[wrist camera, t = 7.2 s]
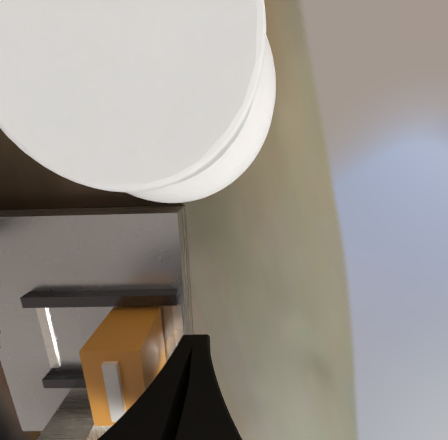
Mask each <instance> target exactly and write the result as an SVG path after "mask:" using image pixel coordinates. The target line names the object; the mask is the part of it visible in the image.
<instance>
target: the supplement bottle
mask: <svg viewBox="0 0 448 440" xmlns="http://www.w3.org/2000/svg"><path fill="white" fill-rule="evenodd" d="M275 94H276V78H275V68H274V62H273V56H272V52H271V48H270V45H269V41H268V38H267V36H266V16H265V5H264V0H0V128H1V130H2V131H3V132H4V133H5V134H6V136H7V137H8V138H10V139H11V140H12V141H13V142H14V143H15V144H16V145H17V146H18V147H19V148H20V149H21V150H22V151H24V152H25V153H26V154H27V155H29V156H30V157H31V158H33V159H34V160H35V161H37V162H38V163H40V164H41V165H43V166H44V167H46V168H47V169H49V170H51V171H53V172H55V173H56V174H58V175H60V176H62V177H64V178H67V179H69V180H71V181H74V182H76V183H79V184H82V185H85V186H89V187H92V188H96V189H101V190H107V191H114V192H126V193H128V194H131V195H133V196H136V197H138V198H142V199H145V200H150V201H155V202H162V203H183V202H189V201H194V200H198V199H201V198H205V197H207V196H210V195H212V194H214V193H216V192H218V191H220V190H222V189H223V188H225V187H226V186H228V185H229V184H231V183H232V182H233V181H234V180H236V179H237V178H238V177H239V176H240V175H241V174H242V173H243V172H244V171H245V170H246V169H247V168H248V167H249V166H250V164H251V163H252V162H253V160H254V159H255V157H256V156H257V154H258V152H259V151H260V149H261V147H262V145H263V143H264V141H265V138H266V136H267V133H268V130H269V127H270V124H271V119H272V115H273V110H274V104H275Z"/></svg>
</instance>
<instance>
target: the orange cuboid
mask: <svg viewBox="0 0 448 440" xmlns="http://www.w3.org/2000/svg"><path fill="white" fill-rule="evenodd" d="M79 354H80V359H81V364H82V369H83V373H84V378H85V383H86V388H87V392H88V397H89V402H90V407H91V411H92V416H93V421H94V426H113V425H114V424H115V423H116V422H117V421H118V420H119V419H120V418H121V417H122V416H123V415H124V413H125V412H126V411H127V410H128V409H129V408H130V407H131V406H132V405H133V404H134V403H135V402H136V401H137V399H138V398H139V397H140V396H141V395H142V394H143V392H144V391H145V390H146V389H147V388H148V386H149V385H150V384H151V383H152V381H153V380H154V379H155V377H156V376H157V375H158V373H159V372H160V371H161V369H162V368H163V366H164V365H165V363H166V357H165V347H164V338H163V328H162V318H161V309H160V306H155V307H113V309H112V310H111V311H110V312H109V314H108V315H107V316H106V318H105V319H104V320H103V321H102V323H101V324H100V325H99V326H98V328H97V329H96V330H95V332H94V333H93V334H92V335H91V337H90V338H89V339H88V341H87V342H86V343H85V344H84V346H83V347H82V348H81V350H80V351H79Z"/></svg>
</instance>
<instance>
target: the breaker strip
mask: <svg viewBox="0 0 448 440" xmlns="http://www.w3.org/2000/svg"><path fill="white" fill-rule="evenodd" d="M155 306H160V309H161V318H162V328H163V338H164V347H165V357H166V362H167V360H168V359H169V357H170V356H171V354H172V353H173V351H174V350H175V348H176V346H177V345H178V343H179V341H180V339H181V337H182V336H183V335H193V321H192V306H191V291H190V276H189V262H188V247H187V232H186V218H185V206H144V207H103V208H61V209H19V210H0V361H1V364H2V367H3V370H4V374H5V377H6V380H7V383H8V386H9V390H10V393H11V396H12V399H13V403H14V406H15V409H16V412H17V415H18V419H19V422H20V425H21V428H22V431H42V432H41V434H40V435H39V436H38V438H37V439H36V440H97V439H98V438H99V437H101V436H102V435H103V434H104V433H105V432H106V431H107V430H108V429H109V428H110V427H111V426H94V421H93V416H92V411H91V407H90V402H89V397H88V392H87V388H86V383H85V378H84V373H83V369H82V364H81V359H80V354H79V351H80V350H81V348H82V347H83V346H84V344H85V343H86V342H87V341H88V339H89V338H90V337H91V335H92V334H93V333H94V332H95V330H96V329H97V328H98V326H99V325H100V324H101V323H102V321H103V320H104V319H105V318H106V316H107V315H108V314H109V312H110V311H111V310H112V309H113V307H155Z"/></svg>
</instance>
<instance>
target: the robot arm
mask: <svg viewBox="0 0 448 440" xmlns="http://www.w3.org/2000/svg"><path fill="white" fill-rule="evenodd" d="M97 440H242V438H241V437H240V435H239V433H238V430H237V428H236V426H235V424H234V422H233V420H232V418H231V416H230V414H229V411H228V409H227V407H226V404H225V402H224V399H223V397H222V394H221V391H220V388H219V385H218V382H217V379H216V376H215V372H214V368H213V364H212V360H211V354H210V336H209V335H183V336H182V337H181V339H180V341H179V343H178V345H177V346H176V348H175V350H174V351H173V353H172V354H171V356H170V357H169V359H168V360H167V362H166V363H165V365H164V366H163V368H162V369H161V371H160V372H159V373H158V375H157V376H156V377H155V379H154V380H153V381H152V383H151V384H150V385H149V386H148V388H147V389H146V390H145V391H144V392H143V394H142V395H141V396H140V397H139V398H138V399H137V401H136V402H135V403H134V404H133V405H132V406H131V407H130V408H129V409H128V410H127V411H126V412H125V413H124V415H123V416H122V417H121V418H120V419H119V420H118V421H117V422H116V423H115V424H114V425H113V426H111V427H110V428H109V429H108V430H107V431H106V432H105V433H104V434H103V435H102V436H101V437H99V438H98V439H97Z"/></svg>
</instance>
